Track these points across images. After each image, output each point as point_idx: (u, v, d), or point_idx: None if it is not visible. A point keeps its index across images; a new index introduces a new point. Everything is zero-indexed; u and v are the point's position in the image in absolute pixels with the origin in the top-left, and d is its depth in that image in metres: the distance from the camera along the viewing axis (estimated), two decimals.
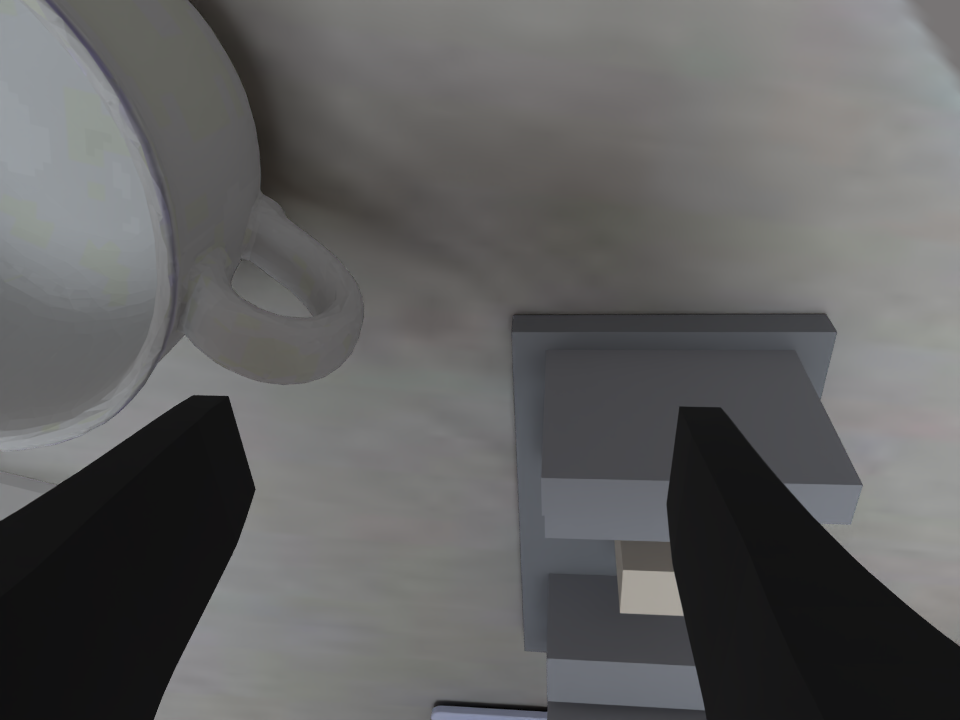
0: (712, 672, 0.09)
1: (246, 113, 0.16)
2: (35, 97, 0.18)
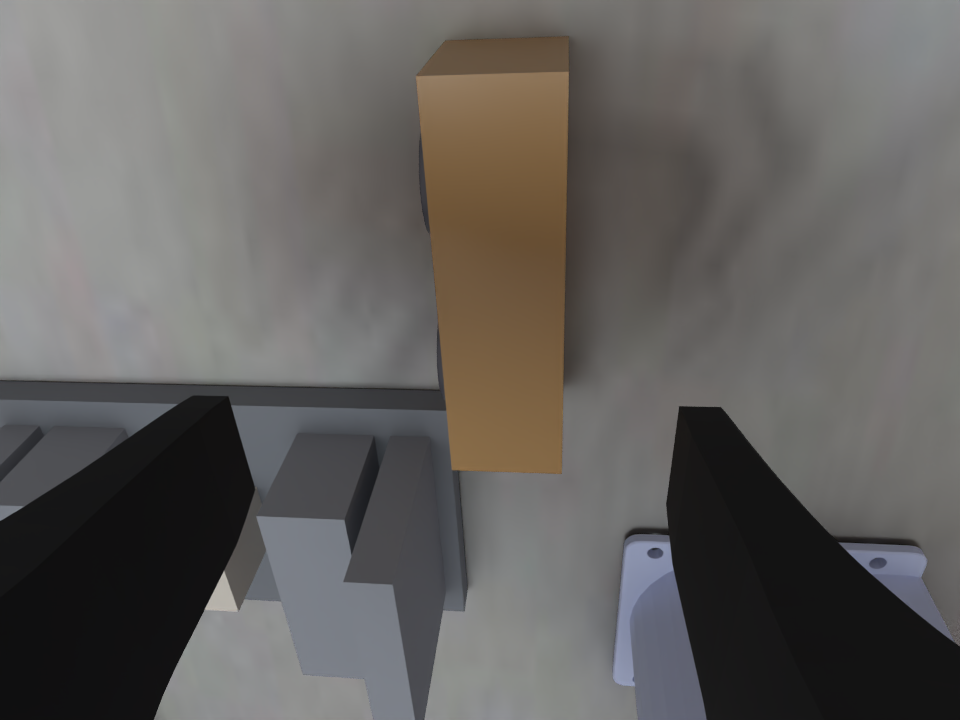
0: (712, 672, 0.09)
1: None
2: None
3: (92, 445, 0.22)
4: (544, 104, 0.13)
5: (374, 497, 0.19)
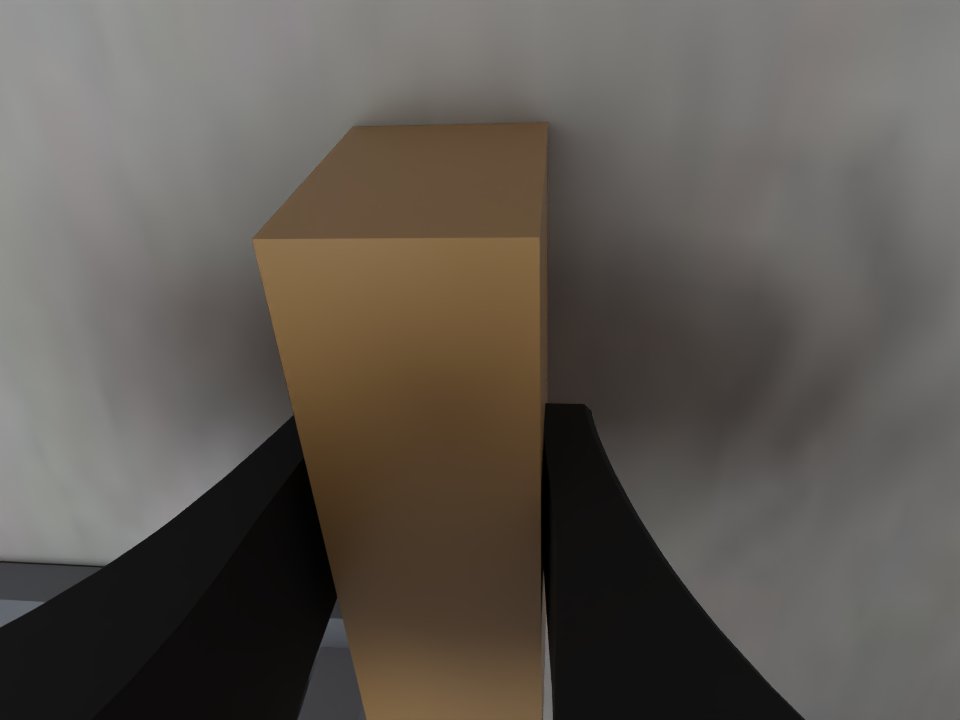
0: (552, 662, 0.09)
1: None
2: None
3: None
4: (494, 289, 0.07)
5: None
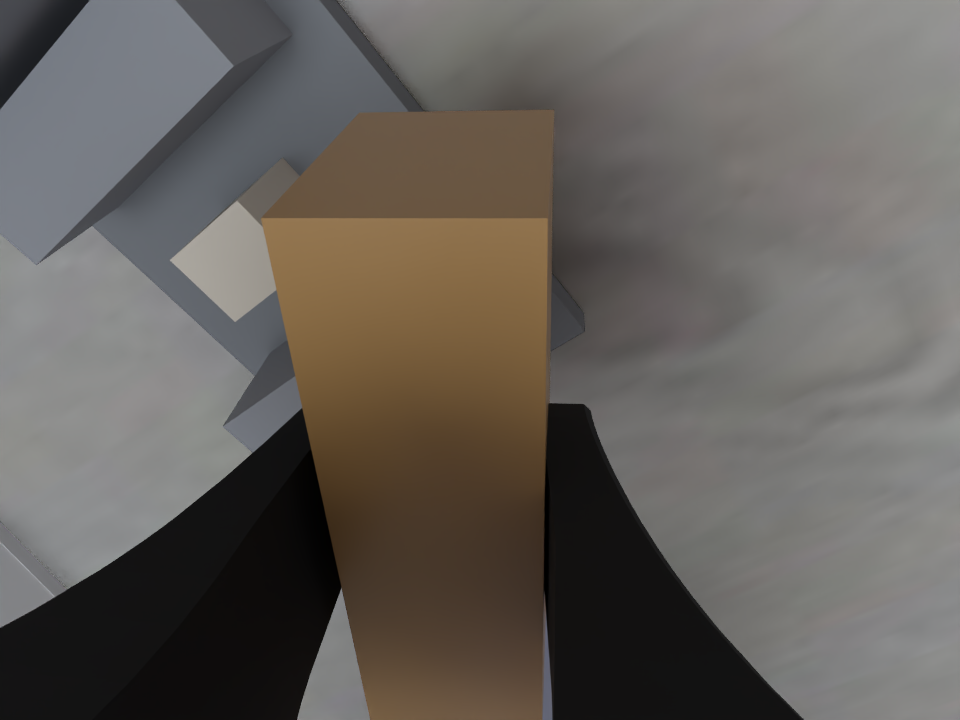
0: (552, 662, 0.09)
1: None
2: None
3: (260, 18, 0.15)
4: (501, 270, 0.07)
5: None
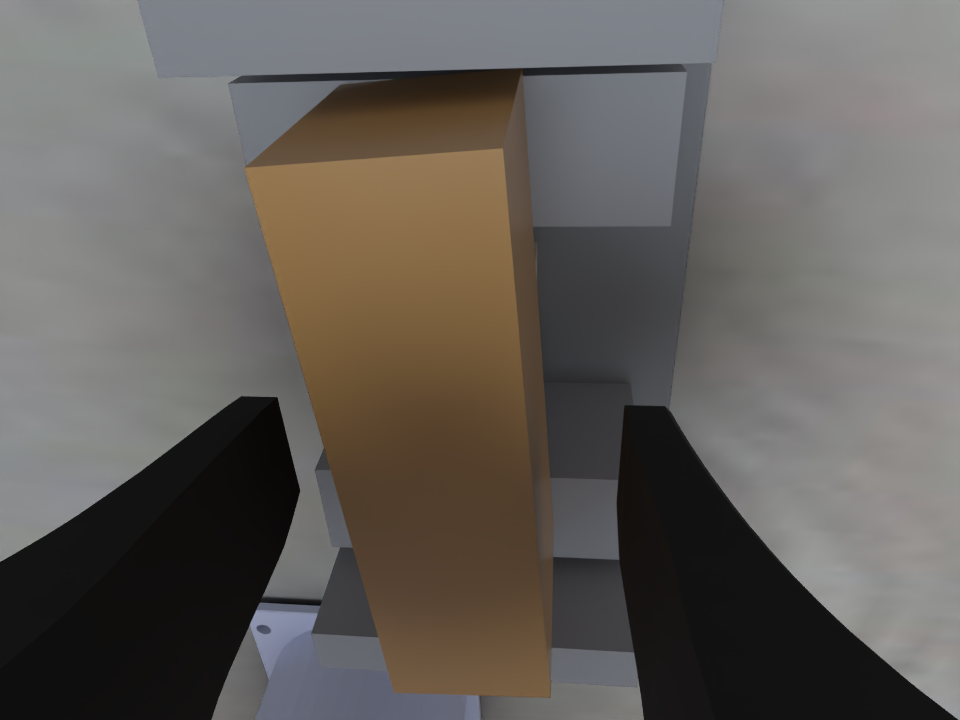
0: (647, 668, 0.09)
1: None
2: None
3: None
4: (465, 202, 0.08)
5: None
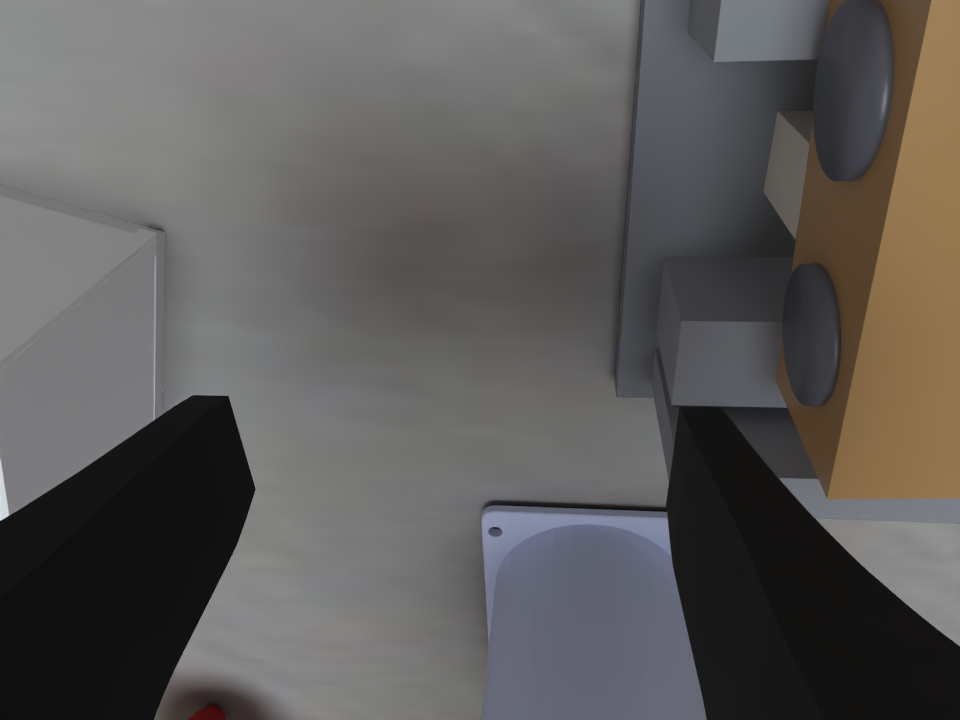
0: (712, 672, 0.09)
1: None
2: None
3: None
4: None
5: None
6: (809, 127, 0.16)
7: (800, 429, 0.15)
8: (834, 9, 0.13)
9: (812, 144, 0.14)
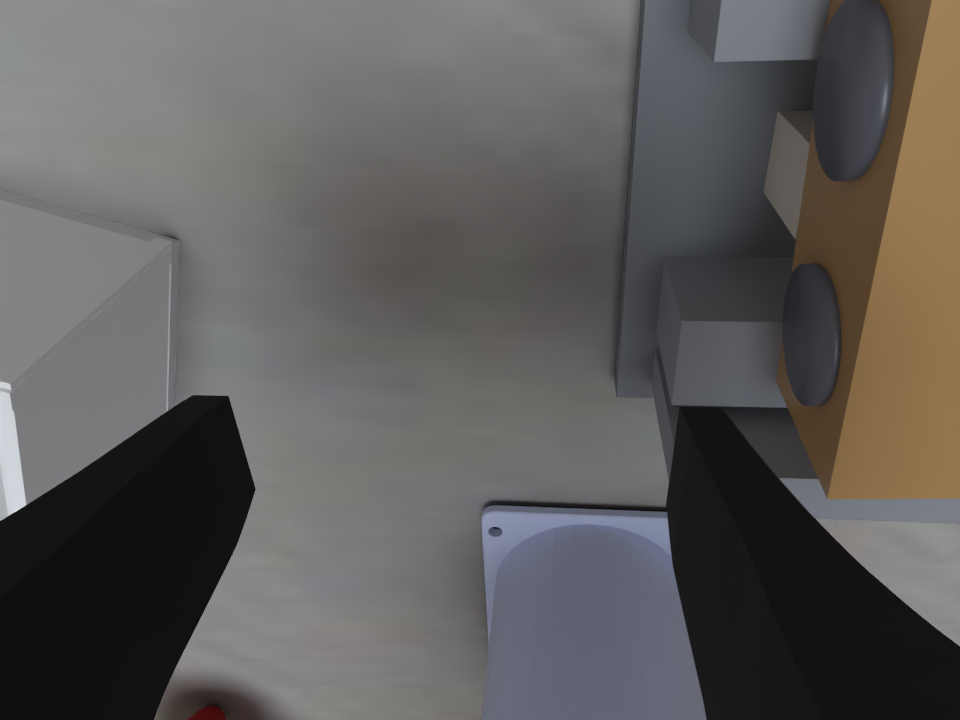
0: (712, 672, 0.09)
1: None
2: None
3: None
4: None
5: None
6: (809, 127, 0.16)
7: (800, 430, 0.15)
8: (834, 9, 0.13)
9: (812, 144, 0.14)
